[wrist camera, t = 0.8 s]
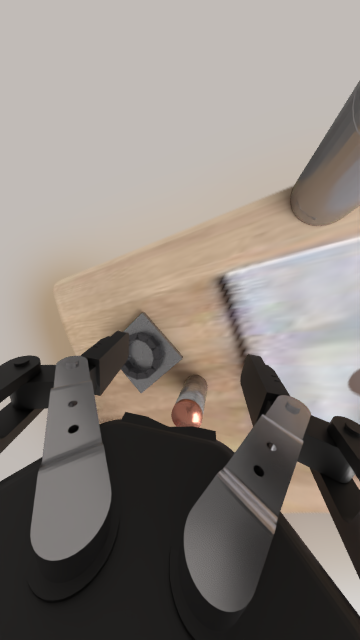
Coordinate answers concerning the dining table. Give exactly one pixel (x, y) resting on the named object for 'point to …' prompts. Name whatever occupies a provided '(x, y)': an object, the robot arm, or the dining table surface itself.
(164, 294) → the dining table surface
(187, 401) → the ball
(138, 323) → the collar plate
